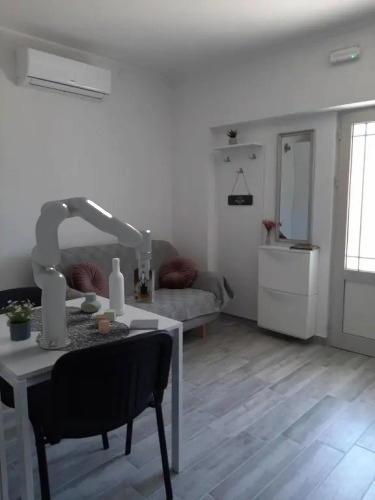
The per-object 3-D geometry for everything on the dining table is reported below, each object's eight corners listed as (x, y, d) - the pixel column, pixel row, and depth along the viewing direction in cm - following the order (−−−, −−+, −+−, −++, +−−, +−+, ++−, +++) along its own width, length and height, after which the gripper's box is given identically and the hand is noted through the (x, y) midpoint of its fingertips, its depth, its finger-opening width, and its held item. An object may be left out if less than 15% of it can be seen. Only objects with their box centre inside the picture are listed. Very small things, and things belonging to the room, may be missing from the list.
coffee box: (133, 303, 185) (132, 270, 183) (136, 299, 192) (136, 267, 190) (152, 303, 184) (152, 270, 182) (155, 300, 191) (154, 268, 189)
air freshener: (79, 313, 210) (78, 295, 209) (83, 309, 218) (82, 291, 217) (99, 313, 210) (98, 295, 208) (102, 309, 218) (102, 291, 217)
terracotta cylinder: (109, 333, 177) (108, 323, 177) (97, 333, 177) (97, 323, 177) (110, 330, 182) (110, 319, 182) (99, 330, 182) (99, 319, 181)
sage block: (114, 321, 195) (114, 312, 195) (104, 321, 195) (104, 312, 194) (115, 318, 200) (115, 309, 200) (106, 318, 200) (105, 309, 199)
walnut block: (105, 327, 186) (105, 317, 186) (95, 327, 186) (94, 317, 185) (107, 324, 191) (107, 314, 190) (97, 324, 191) (96, 314, 190)
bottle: (107, 315, 206) (105, 259, 202) (113, 311, 213) (111, 257, 210) (121, 316, 204) (119, 259, 200) (126, 312, 211) (125, 257, 208)
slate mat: (157, 329, 183) (157, 327, 183) (129, 329, 183) (129, 328, 183) (158, 320, 196) (158, 319, 196) (132, 321, 196) (132, 319, 196)
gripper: (150, 258, 177) (151, 296, 179) (152, 253, 194) (152, 288, 196) (134, 258, 176) (134, 296, 179) (137, 253, 194) (137, 288, 196)
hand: (144, 292), depth 187 cm, fingers closed on coffee box, 6 cm apart
